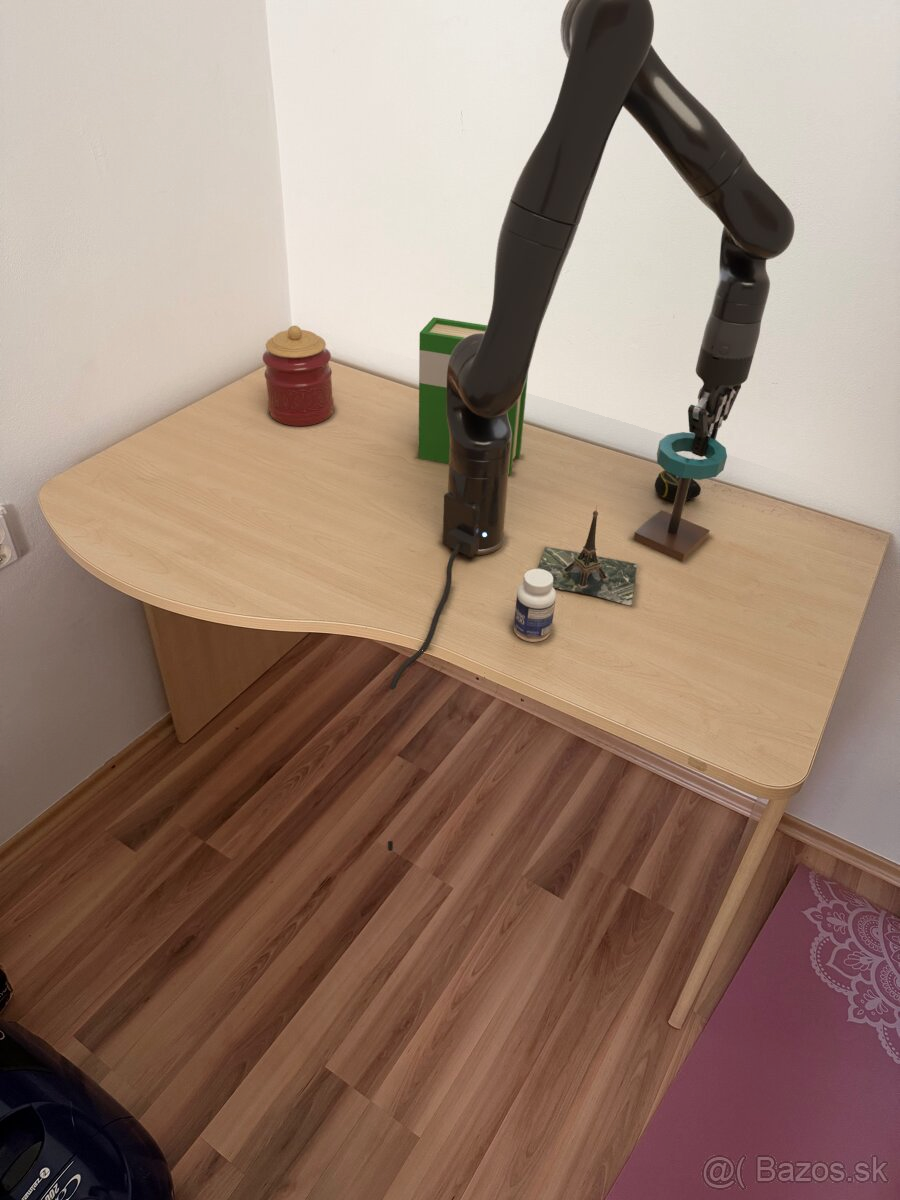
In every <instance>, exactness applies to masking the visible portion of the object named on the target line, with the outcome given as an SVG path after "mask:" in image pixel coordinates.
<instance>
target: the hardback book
mask: <svg viewBox="0 0 900 1200" xmlns="http://www.w3.org/2000/svg"><path fill="white" fill-rule="evenodd" d="M487 325H488V324H480V323H474V322H469V321H468V322H467V321H461V320H455V319H449V318H443V317H442V318H441V317H437V316H436V317H435V316H433V317H432V318H431V319H430V321H428V323H427V324H426V325H425V326H424V327H423V328H422V329H421V331H420V332H419V343H418V345H419V351H418V352H419V353H418V355H419V356H418V359H419V361H418V362H419V363H418V367H419V368H418V373H419V374H418V457H417V458H418V459H420V460H427V461H430V462H431V461H432V462H437V463H441V464H447V465H449V448H450V434H449V428H448V423H447V368H448V362H449V358H450V356H451V353H452V351H453V350H454V348H455V347H456V345H457V344H458V343H459V342H460V341H461V340H463V339H464V338H466V337H467V336H470V335H472V334H478V333H485V330H486V328H487ZM528 379H529V374H528V375H527V379H526V382H525V385H524V388H523V391H522V393H521V396H520V397H519V399H518V401H517V402H516V403H515V405H514V406H513V407H512V408H511V409H510V410H509V411H508V412H507V414H508V419H509V423H510V427H511V431H512V441H511V452H510V464H509V474H508V477H510V476H512V472H513V462H514V459H518V460H519V459H520V457H521V451H522V441H523V440H522V439H523V430H524V421H525V420H524V419H525V408H526V400H527V399H526V398H527V389H528Z"/></svg>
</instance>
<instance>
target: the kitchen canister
mask: <svg viewBox="0 0 900 1200" xmlns="http://www.w3.org/2000/svg"><path fill="white" fill-rule="evenodd" d="M326 346H327V343H326V340H325V339H324V338H323V337H321V336H319V335H318V334H316V333H315V332H312V331H310V330H306V329H301V328H300V327H299V326H298V325H291V326H289V328H288V329H287V330H283V331H280V332H278V333H276V334H274V335H273V336H272V337H270V338H269V339H268V340H267V341H266V342H265V349H266V350H265V351H264V352H263V355H262V361H263V363H264V364H265V365H266V368H265V370H264V378H265V382H266V390H267V391H266V392H267V405H268V406H267V407H268V411H269V413H270V416H271V418H273V420H275V421H276V422H277V423H280V424H284V425H287V426H294V427H295V426H296V427H303V426H311V425H316V424H319V423H322V422H324V421H326V420H328V419H329V418H330V417H331V416H332V415H333V412H334V408H335V407H334V406H335V401H334V399H335V398H334V396H333V382H332V374H333V370H332V368H331V366H330V364H329V362H330V360H331V358H332V354H331V352H330V350H329V349H328V348H326Z"/></svg>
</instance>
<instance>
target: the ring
mask: <svg viewBox="0 0 900 1200" xmlns="http://www.w3.org/2000/svg"><path fill="white" fill-rule="evenodd" d="M694 438H695V433H691V432H685V431H683V432H682V431H681V432H676V433H669V434H666V436H664V437H663V438H661V439H660V440H659V442H658V447H657V452H656V463H657V464H658V465H659V466H660V467H661V468H662V469H663V471H664V470H665V471H667V472H669V473H672V474H674V475H677V476H679V477H682V478H689V479H693V480H697V481H699V480H700V481H702V480H706V479H707V480H708V479H711V478H716V477H717V476H719V474H720V473H722V472H723V471H724V469H725V465H726V462H727V458H728V453H727V448H726V447H725V446H724V445H723V444H721V443H720V441H718V440H717V439H712V438H710V441H709V444H708V448H707V452H706V455H704V456H703V457H705V458H703V459H696V458H689V457H686V456H683V455H680V454H678V453H679V452H680V453H681V452H688V453H692V452H691V450H692V446H693V442H694Z"/></svg>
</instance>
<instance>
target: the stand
mask: <svg viewBox="0 0 900 1200" xmlns="http://www.w3.org/2000/svg"><path fill="white" fill-rule="evenodd" d="M690 480H691V479H689V478H682V477H680V481H679V485H678V489H677V493H676V497H675V501H673V506H672V510H671V512H668V511H666V510H663V509H660V510H659V511H658V512H657V513H655V515H653V516H652V517H651V518H649V520H647V521H646V522H645V523H644V524H642V526H640V528H638V529H637V530H636V531H634V535H633V539H632V540H633V541H636V542H638V543H639V544H642V545H644V546H646V547H648V548H651V549H653V550H656V551H658V552H660V553H662V554H664V555H666V556H669V557H671V558H673V559H675V560H677V561H679V562H684V561H685V560H686V559H687V558H688V557H689V556H690V555H691V554H692V553H693V552H694V551H695V550H696V549H697V548H699V546H701V544H703V543H704V542H705V541H706V540H707V539H708V538H709V534H710V529H709V528H706V527H703V526H701V525H698V524H697V523H694V522H692V521H689V520H687V519H685V518H682V517H683V516H682V515H683V511H684V508H685V503H686V501H687V500H686V496H687V492H688V488H689V484H690ZM685 500H686V501H685Z"/></svg>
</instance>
